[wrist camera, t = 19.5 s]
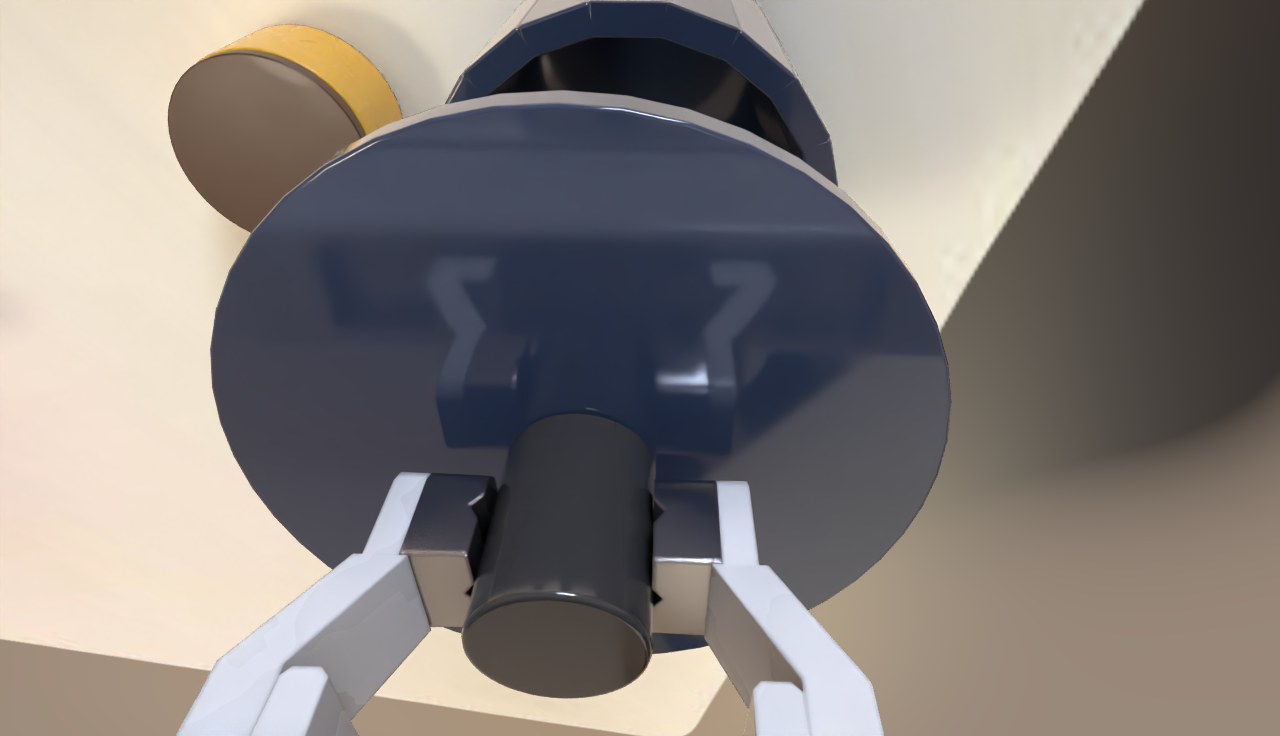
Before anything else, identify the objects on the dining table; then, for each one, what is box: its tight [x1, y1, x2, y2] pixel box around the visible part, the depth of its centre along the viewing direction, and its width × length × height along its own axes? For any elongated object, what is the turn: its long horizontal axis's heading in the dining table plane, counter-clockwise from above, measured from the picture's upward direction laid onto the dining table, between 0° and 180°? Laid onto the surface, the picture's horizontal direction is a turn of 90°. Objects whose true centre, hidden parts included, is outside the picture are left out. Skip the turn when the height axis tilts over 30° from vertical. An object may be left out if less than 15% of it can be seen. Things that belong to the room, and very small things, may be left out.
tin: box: [168, 24, 403, 233], centre depth 26 cm, size 7×7×4 cm
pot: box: [445, 0, 838, 186], centre depth 23 cm, size 12×12×10 cm
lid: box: [210, 90, 951, 698], centre depth 11 cm, size 12×12×5 cm
